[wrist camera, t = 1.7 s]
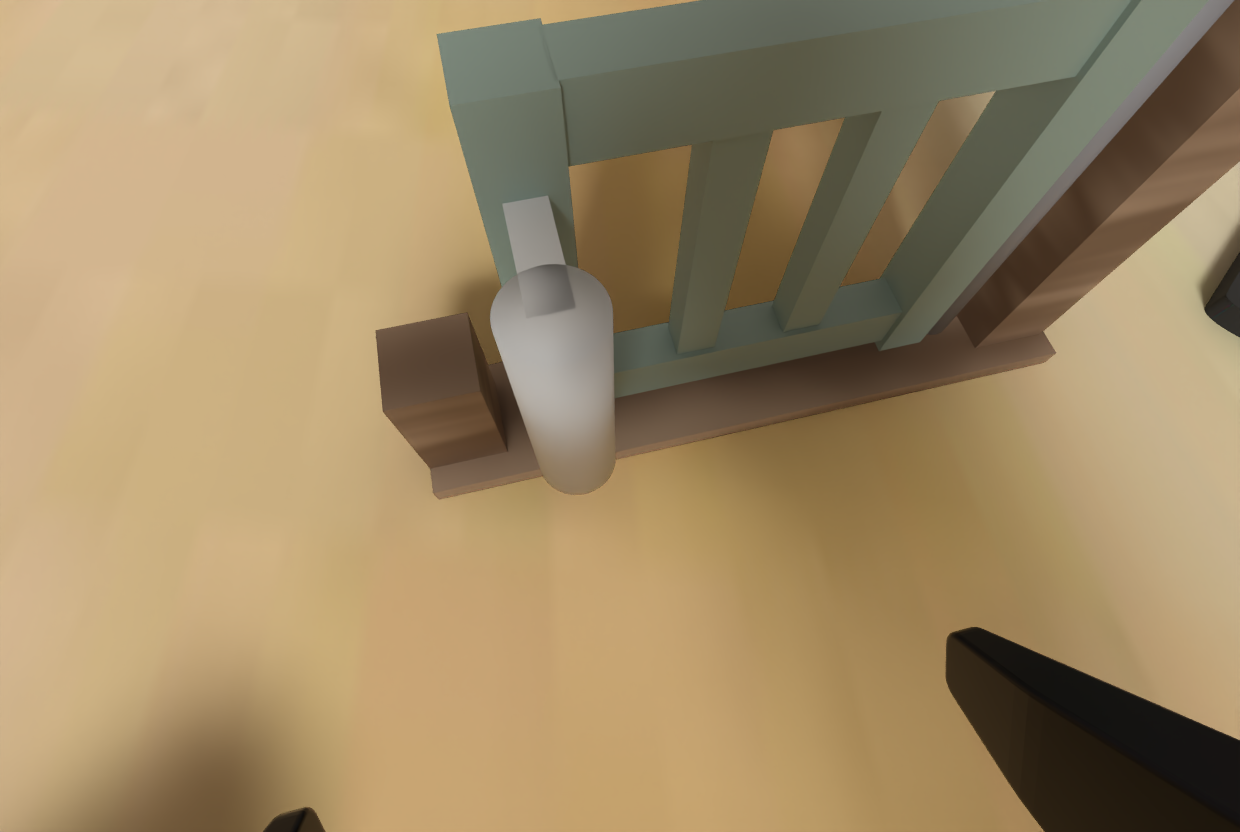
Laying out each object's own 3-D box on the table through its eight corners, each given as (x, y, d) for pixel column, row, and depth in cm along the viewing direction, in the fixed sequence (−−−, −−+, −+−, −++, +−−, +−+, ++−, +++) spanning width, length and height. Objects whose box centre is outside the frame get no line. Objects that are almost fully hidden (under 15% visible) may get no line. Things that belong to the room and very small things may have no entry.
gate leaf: (1005, 425, 24) (1457, 107, 11) (557, 531, 22) (470, 299, 9) (934, 294, 26) (1233, -88, 13) (527, 380, 24) (426, 35, 12)
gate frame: (1044, 362, 26) (1639, -108, 11) (439, 499, 24) (108, 138, 8) (988, 270, 29) (1426, -236, 13) (425, 387, 26) (139, -68, 11)
